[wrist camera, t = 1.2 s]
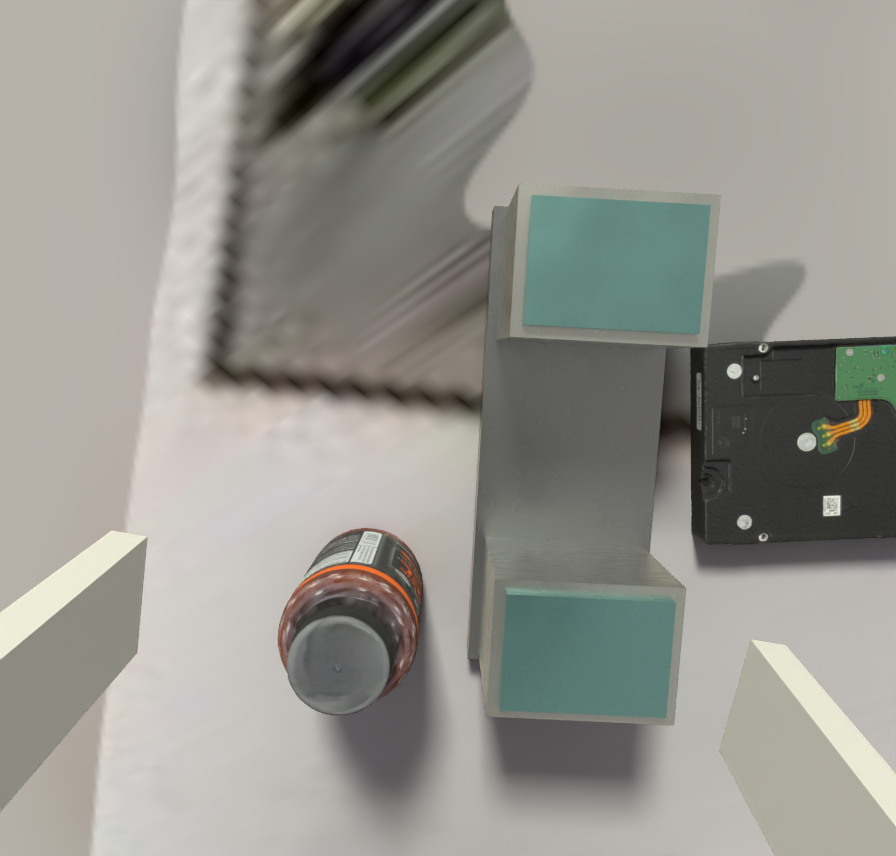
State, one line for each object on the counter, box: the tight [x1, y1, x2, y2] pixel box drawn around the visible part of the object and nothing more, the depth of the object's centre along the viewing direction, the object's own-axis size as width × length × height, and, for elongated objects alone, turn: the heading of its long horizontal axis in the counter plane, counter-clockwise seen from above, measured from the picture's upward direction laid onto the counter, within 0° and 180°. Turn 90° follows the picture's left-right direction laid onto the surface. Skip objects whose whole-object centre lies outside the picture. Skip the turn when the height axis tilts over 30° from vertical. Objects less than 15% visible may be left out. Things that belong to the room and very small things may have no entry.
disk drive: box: [690, 336, 896, 545], centre depth 37 cm, size 10×3×15 cm
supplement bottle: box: [278, 528, 423, 715], centre depth 33 cm, size 6×6×11 cm
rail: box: [467, 183, 721, 725], centre depth 34 cm, size 23×9×9 cm, turn 177°
